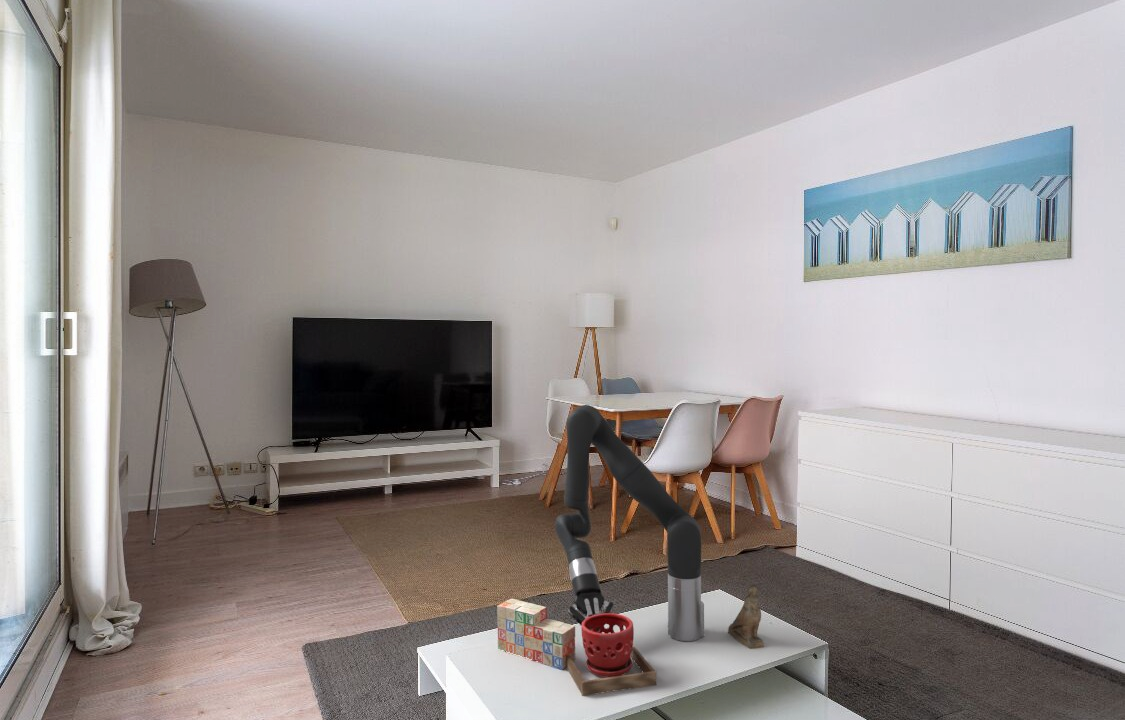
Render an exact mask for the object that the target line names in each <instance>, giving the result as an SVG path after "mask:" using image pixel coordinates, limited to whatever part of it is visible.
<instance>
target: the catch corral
mask: <svg viewBox="0 0 1125 720" xmlns="http://www.w3.org/2000/svg"><path fill="white" fill-rule="evenodd" d="M631 659H632V661H635V662H634V663H635V664H636V666H637V667H638V666H639V667H640V668H639V667H638V668H639V669H640V671H643V672H638V673H632V674H631V673H630V674H624V675H621V676H615V677H602V678H596V679H595V678H594V679H588V680H585V679H584V677H583V675H582V673H581V672H580V671H579V669H578V667H577V666H576V664H575V663H574V662H575V661H574V662H573V661H572V659H571V657H570V656H569V655H568V656H566V668H565V669H566V670H567V671H568V673H569V675H570V677H571V678H572V680H573V682H574V683H575V685H576V687H577V689H578V690H579V692H580V693H581V696H582V697H583V696H584V697H585V696H590V695H595V694H596V693H598V694H602V692H604V693H608V692H607V691H611V692H614V691H613V690H618V691H623V690H622V689H625V690H630V689H629V688H631V689H638V688H643V687H650V686H657V671H656V670H655V669H654V668H653V666H652V665H651V664H650V663H649V662H648V661H647V659H646V658H645V657H644V656H643V654H641V652H640V651H639V650H638V649H637V647H636V646H633V649H632V653H631ZM637 687H638V688H637Z"/></svg>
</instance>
